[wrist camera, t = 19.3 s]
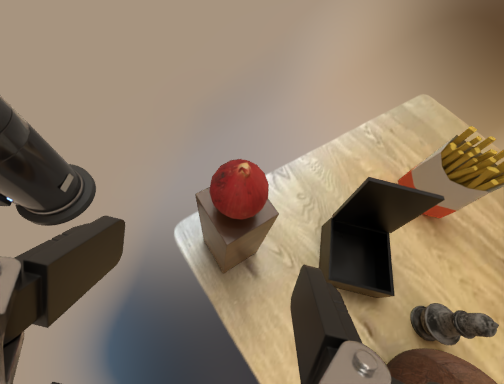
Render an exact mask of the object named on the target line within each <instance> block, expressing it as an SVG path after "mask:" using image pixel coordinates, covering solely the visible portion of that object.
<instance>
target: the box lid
mask: <svg viewBox="0 0 504 384" xmlns="http://www.w3.org/2000/svg"><path fill="white" fill-rule="evenodd" d="M444 200H445V199H444V196H442V195H438V194H434V193H430V192H426V191H422V190H418V189H414V188H410V187H406V186H402V185H399V184H395V183H391V182H387V181H383V180H379V179H375V178H371V177H368V178H367V179H366V180H365V181H364V182H363V183H362V185H361V186H360V187H359V188H358V189H357V190H356V191H355V192H354V193H353V194H352V195H351V196H350V197H349V198H348V199H347V200H346V201H345V203H344V204H343V205H342V206H341V207H340V208H339V209H338V210H337V211H336V212H335V213H334V214H333V215H332V218H333V219H337V220H341V221H345V222H349V223H353V224H357V225H361V226H365V227H369V228H372V229H376V230H380V231H384V232H388V233H392V232H393V231H395V230H397V229H398V228H400V227H402V226H403V225H405V224H406V223H408V222H410V221H411V220H413V219H415V218H416V217H418V216H419V215H421V214H423V213H424V212H426V211H428V210H429V209H431V208H432V207H434V206H436V205H437V204H439V203H441V202H442V201H444Z"/></svg>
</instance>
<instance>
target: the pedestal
mask: <svg viewBox="0 0 504 384" xmlns="http://www.w3.org/2000/svg"><path fill="white" fill-rule="evenodd" d="M209 190H210V187H209V188H207V189H205V190H203V191H201V192H199V193H197V194H196V201H197V206H198V211H199V217H200V222H201V227H202V233H203V238H204V241H205V243H206V244H207V246H208V248H209V250H210V251H211V253H212V255H213V257H214V258H215V260H216V262H217V263H218V265H219V267H220V269H221V270H222V272H223V273H225V272H227V271H228V270H230V269H231V268H233V267H234V266H236V265H237V264H239V263H240V262H242V261H243V260H245V259H247V258H248V257H250V256H251V255H253V254H254V253H256V252H257V250H258V249H259V247H260V245H261V243H262V242H263V240H264V238H265V237H266V235H267V233H268V232H269V230H270V228H271V227H272V225H273V223H274V222H275V220H276V218H277V216H278V215H279V213H278V212H277V210H276V209H275V208H274V206H273V205H272V204H271V202H270V201H269V199H267V201H266V203H265V205H264V207H263V208H262V210H261V211H260V212H258V213H257V214H256V215H254V216H253V217H249V218H246V219H233V218H230V217H228V216H226V215H224V214H222V213H221V212H220V211H219V210H218V209H217V208H216V207H215V206H214V204H213V202H212V199H211V196H210V192H209Z"/></svg>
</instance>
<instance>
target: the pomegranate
mask: <svg viewBox="0 0 504 384" xmlns="http://www.w3.org/2000/svg"><path fill="white" fill-rule="evenodd" d="M209 192H210V196H211V199H212V202H213V204H214V206H215V207H216V208H217V209H218V210H219V211H220V212H221V213H222V214H224V215H226V216H228V217H230V218H233V219H246V218H249V217H253V216H254V215H256V214H257V213H258V212H260V211H261V210H262V208H263V207H264V205H265V203H266V201H267V199H268V181H267V179H266V176H265V174H264V172H263V171H262V170H261V169H260V168H259V167H258V166H257V165H255V164H254V163H252V162H250V161H247V160H241V159H238V160H231V161H229V162H227V163H225V164H223V165H221V166H220V168H219V169H218V170H217V171H216V173H215V174H214V175H213V176H212V180H211V185H210V190H209Z"/></svg>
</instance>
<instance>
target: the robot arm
mask: <svg viewBox="0 0 504 384" xmlns="http://www.w3.org/2000/svg"><path fill="white" fill-rule="evenodd" d="M84 188H85V184H84V180H83V178H82V177H81V176H80V175H79V174H78V173H77V172H76V171H75V170H74V169H73V168H72V167H71V166H70V165H69V164H68V163H67V162H66V161H65V160H64V159H63V158H62V157H61V156H60V155H59V154H58V153H57V152H56V151H55V150H54V149H53V148H52V147H51V146H50V145H49V144H48V143H47V142H46V141H45V140H44V139H43V138H42V137H41V136H40V135H39V134H38V133H37V132H36V131H35V130H34V129H33V128H32V127H31V126H30V125H29V124H28V123H27V122H26V121H25V120H24V119H23V118H22V117H21V116H20V115H19V114H18V113H17V112H16V111H15V110H14V109H13V108H12V107H11V106H10V105H9V104H8V102H7V101H6V100H5V99H4V98H3V97H2V96H1V95H0V206H10V205H11V203H12V202H13V203H14V204H16V205H18V206H20V207H24V208H25V209H27V210H28V211H30V212H32V213H34V214H37V215H42V216H49V215H55V214H59V213H61V212H64V211H66V210H68V209H69V208H71V207H72V206H74V205H75V204H76V203H77V202H78V201H79V199H80V198H81V197H82V195H83V192H84ZM124 232H125V222H124V220H121V219H118V218H113V217H109V216H103V217H101V218H99V219H97V220H95V221H93V222H92V223H90V224H89V223H88V224H84V225H80V226H77V227H73V228H71V229H69V230H67V231H65V232H64V233H62V235H58V236H56V237H54V238H52V240H48V241H46V242H44V243H42V244H40V245H38V246H36V247H35V248H32V249H31V250H29V251H27V252H25V253H23V254H21V255H19V256H17V257H15V258H11V257H0V384H13V380H14V375H15V372H16V368H17V364H18V360H19V356H20V351H21V348H22V344H23V340H24V330H25V329H26V328H28V327H29V326H30V325H31V324H35V325H39V326H43V327H47V328H48V327H49V326H50V325H51V324H52V323H53V322H54V321H56V320H57V319H58V318H59V317H60V316H61V315H62V314H63V313H64V312H66V311H67V310H68V309H69V308H70V307H71V306H72V305H73V304H74V303H75V302H76V301H78V299H80V298H81V297H82V296H83V295H84V294H85V293H86V292H87V291H88V290H89V289H91V287H93V286H94V285H95V284H96V283H97V282H98V281H99V280H101V279H102V278H103V277H104V276H105V275H106V274H107V273H108V272H109V271H110V270H111V269H113V268H114V267H115V266H116V265H117V263H118V262H119V260H120V258H121V256H122V252H123V243H124ZM291 315H292V322H293V330H294V337H295V344H296V351H297V358H298V366H299V373H300V380H301V384H405V383H403V382H401V381H399V380H397V379H395V378H394V377H392V376H391V375H390V372H389V370H388V368H387V366H386V364H385V363H384V362H383V360H382V359H381V358H380V357H379V356H378V355H377V354H376V353H375V352H374V351H373V350H371V349H370V348H369V347H367V346H365V345H364V344H362V341H361V339H360V337H359V335H358V333H357V330H356V328H355V326H354V324H353V321H352V319H351V317H350V315H349V314H348V310H347V308H346V306H345V305H344V301H343V299H342V297H341V295H340V293H339V292H338V291H337V289H336V288H335V287H334V286H333V285H332V284H331V283H327V282H326V280H325V277H324V275H323V272H322V270H321V269H319V268H315V267H311V266H307V265H303V266H302V268H301V270H300V273H299V276H298V279H297V282H296V285H295V287H294V290H293V293H292V297H291ZM52 384H60V383H56V382H52ZM426 384H440V383H437V382H427V383H426Z"/></svg>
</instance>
